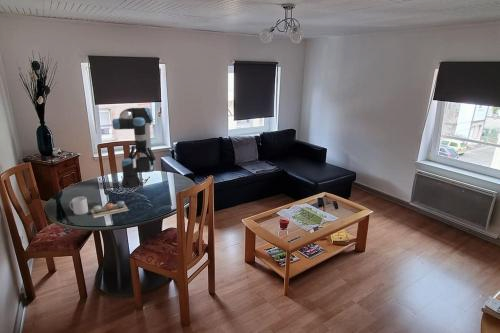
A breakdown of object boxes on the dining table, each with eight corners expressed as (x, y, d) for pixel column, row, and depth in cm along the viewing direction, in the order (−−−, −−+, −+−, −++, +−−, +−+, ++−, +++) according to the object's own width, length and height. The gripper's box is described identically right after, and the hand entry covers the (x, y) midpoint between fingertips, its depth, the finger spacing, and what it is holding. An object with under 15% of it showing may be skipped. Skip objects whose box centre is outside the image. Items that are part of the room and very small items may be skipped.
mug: (75, 209, 215) (73, 195, 212) (91, 211, 213) (89, 196, 210) (66, 215, 207) (64, 200, 204) (83, 216, 205) (80, 201, 202)
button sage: (93, 211, 210) (92, 206, 209) (101, 209, 212) (100, 204, 211) (94, 214, 206) (93, 209, 205) (102, 212, 209) (101, 207, 207)
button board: (90, 211, 214) (90, 209, 213) (123, 204, 226) (123, 202, 225) (94, 219, 202) (94, 217, 201) (129, 211, 214) (129, 210, 213)
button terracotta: (105, 209, 214) (104, 204, 213) (112, 207, 216) (112, 202, 215) (106, 211, 210) (106, 206, 209) (114, 210, 213) (113, 205, 212)
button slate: (116, 206, 218) (116, 201, 217) (123, 205, 221) (123, 200, 219) (118, 209, 214) (117, 204, 213) (125, 207, 217) (124, 202, 216)
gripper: (121, 139, 216) (124, 168, 223) (153, 142, 211) (156, 171, 218) (127, 137, 223) (130, 165, 230) (159, 140, 218) (161, 168, 225)
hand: (143, 168), depth 224 cm, fingers open, 13 cm apart
